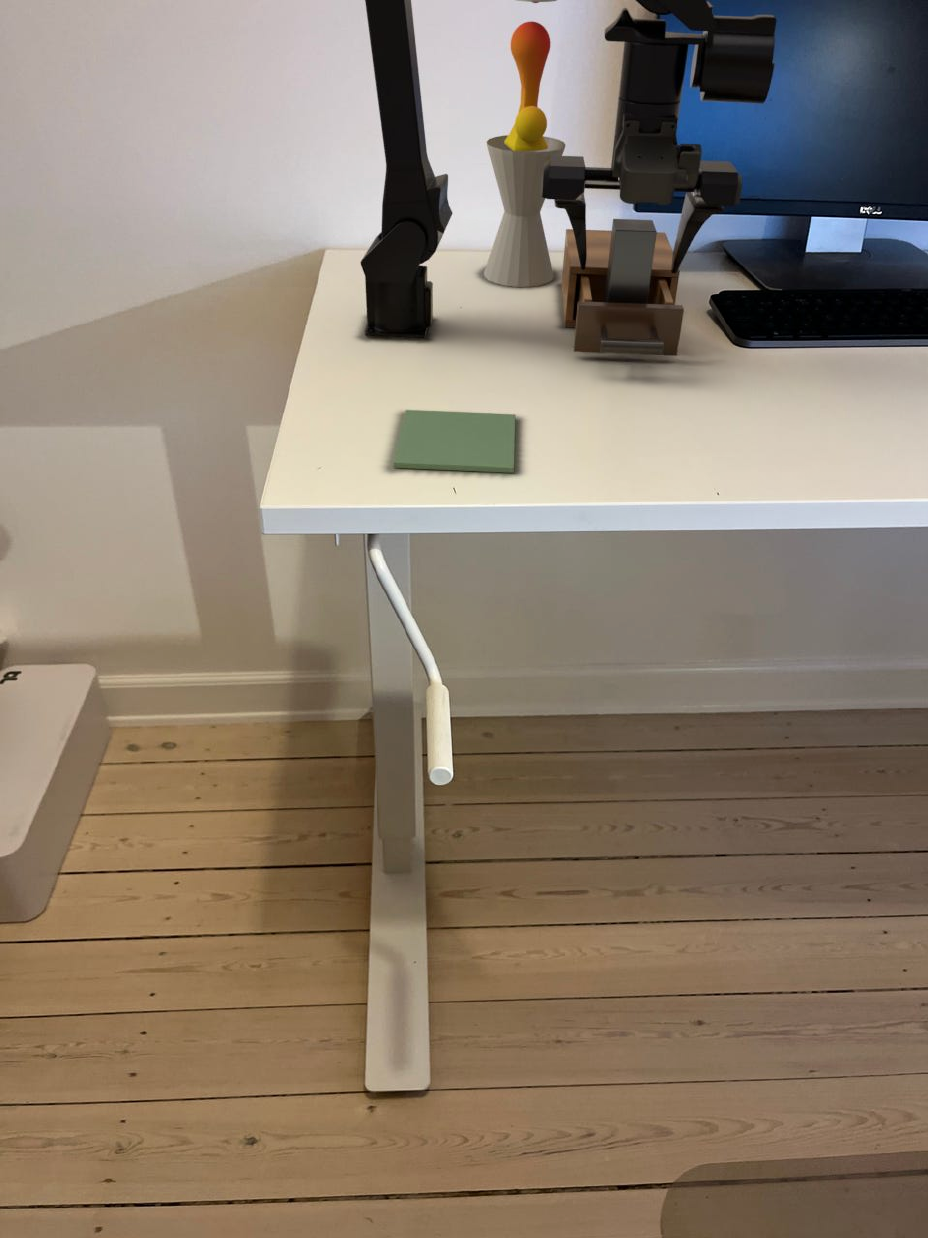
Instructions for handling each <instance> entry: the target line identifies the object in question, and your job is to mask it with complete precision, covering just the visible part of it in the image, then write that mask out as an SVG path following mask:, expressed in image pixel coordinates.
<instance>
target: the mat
mask: <svg viewBox="0 0 928 1238" xmlns="http://www.w3.org/2000/svg"><path fill="white" fill-rule="evenodd" d="M515 444H516V414H514V413H513V414H511V413H492V412H491V413H490V412H468V411H465V412H464V411H446V410H445V411H443V410H442V411H441V410H419V409H418V410H417V409H416V410H415V409H405V410H404V415H403V420H402V424H401V427H400V433H399V436H398V442H397V446H396V451H395V455H394V459H393V468H394V469H395V468H396V469H416V470H417V469H418V470H439V471H440V470H441V471H462V472H463V471H464V472H486V473H506V474H507V473H508V474H510V473H511V474H513V473H514V472H515V452H516V451H515V449H516V447H515Z"/></svg>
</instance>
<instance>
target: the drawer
mask: <svg viewBox="0 0 928 1238" xmlns="http://www.w3.org/2000/svg"><path fill="white" fill-rule="evenodd" d="M606 278H607V275H598V274H579V284H578V295H577V317H576V327H574V328H575V330H574V339H573V352H574V353H596V354H597V353H598V354H617V355H646V356H647V355H648V356H669V357H670V356H671V357H673V356H674V357H677V356H678V351H679V350H678V349H679V343H680V337H681V331H682V326H683V318H684V313H685V308H684V306H683V305H682V304H675V305H673V303H674V302H673V299H672V297H671V294H670V291H669V288H668V285H667V282H666V279H665V277H653V276H651V278H650V285H649V292H648V300H647V304H633V303H607V302H604V297H605V288H606Z"/></svg>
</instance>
